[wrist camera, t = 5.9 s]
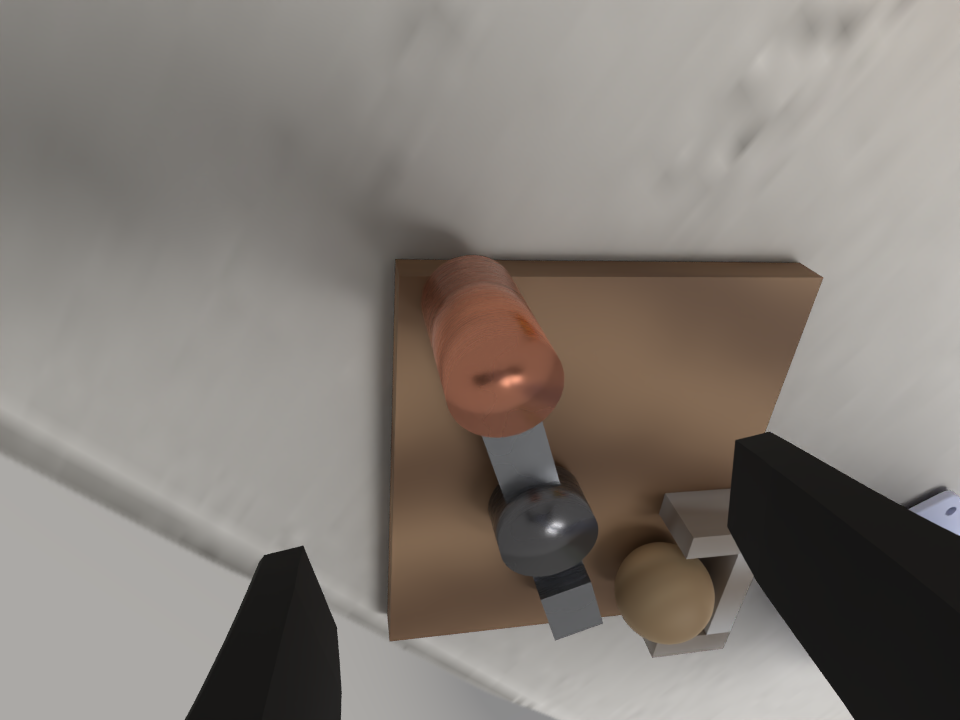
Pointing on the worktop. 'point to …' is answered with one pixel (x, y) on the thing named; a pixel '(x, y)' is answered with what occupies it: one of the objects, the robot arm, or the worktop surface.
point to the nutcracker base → (594, 432)
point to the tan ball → (664, 593)
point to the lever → (514, 429)
